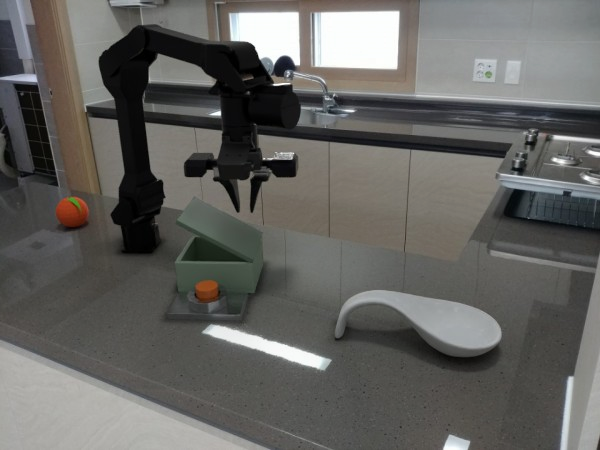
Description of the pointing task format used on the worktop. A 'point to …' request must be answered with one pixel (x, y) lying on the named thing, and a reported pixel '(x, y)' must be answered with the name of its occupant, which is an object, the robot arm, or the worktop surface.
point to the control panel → (208, 306)
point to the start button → (207, 290)
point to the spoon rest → (433, 321)
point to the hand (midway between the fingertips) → (245, 212)
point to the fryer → (217, 267)
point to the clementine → (72, 212)
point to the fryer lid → (220, 229)
